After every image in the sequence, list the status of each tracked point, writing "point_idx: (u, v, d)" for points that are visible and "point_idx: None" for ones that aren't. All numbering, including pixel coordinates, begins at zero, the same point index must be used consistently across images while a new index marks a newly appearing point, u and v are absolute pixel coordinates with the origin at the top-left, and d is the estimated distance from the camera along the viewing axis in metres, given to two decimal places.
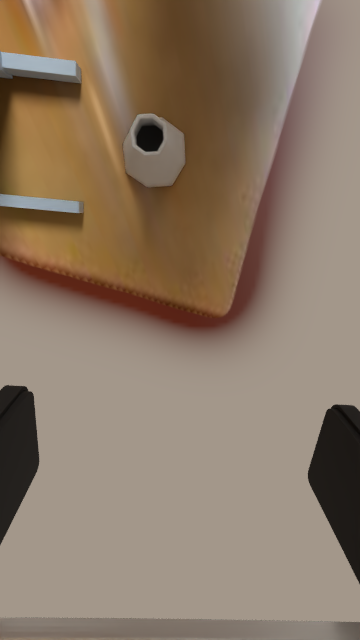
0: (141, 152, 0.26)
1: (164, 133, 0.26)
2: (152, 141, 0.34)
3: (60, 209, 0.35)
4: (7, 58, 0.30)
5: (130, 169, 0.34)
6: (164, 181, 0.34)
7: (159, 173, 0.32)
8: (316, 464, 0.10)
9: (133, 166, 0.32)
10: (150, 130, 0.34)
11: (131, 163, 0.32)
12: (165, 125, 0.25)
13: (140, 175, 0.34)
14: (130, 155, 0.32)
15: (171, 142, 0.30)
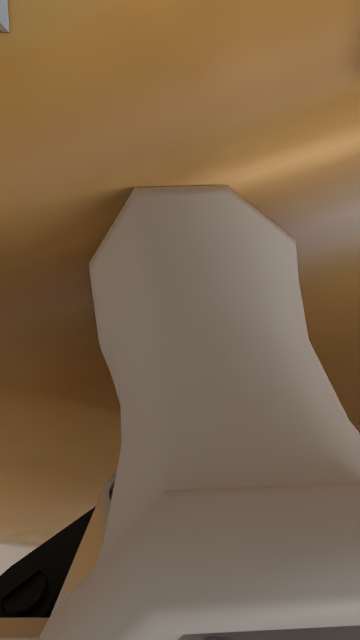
0: None
1: None
2: None
3: None
4: None
5: (134, 213, 0.09)
6: (100, 335, 0.10)
7: (107, 349, 0.08)
8: None
9: (135, 237, 0.07)
10: None
11: (145, 231, 0.07)
12: None
13: (113, 252, 0.09)
14: (177, 231, 0.07)
15: None
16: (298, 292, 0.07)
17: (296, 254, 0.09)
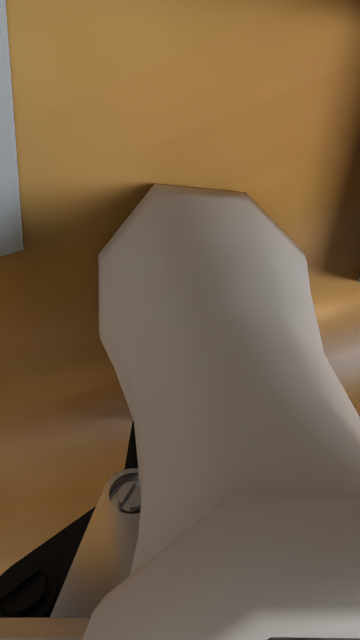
0: None
1: None
2: None
3: None
4: None
5: (153, 209, 0.08)
6: (103, 327, 0.10)
7: (114, 342, 0.08)
8: None
9: (155, 233, 0.07)
10: None
11: (167, 229, 0.07)
12: None
13: (127, 246, 0.09)
14: (199, 232, 0.07)
15: None
16: (312, 306, 0.07)
17: (307, 269, 0.09)
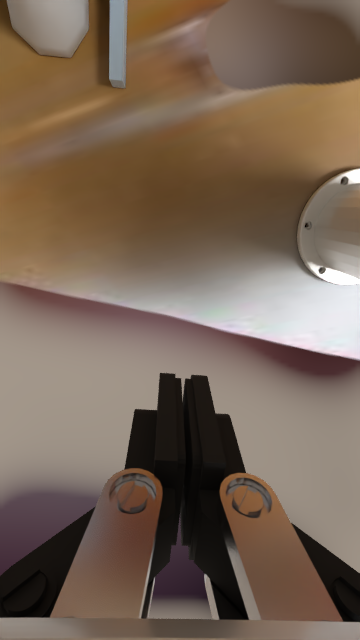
0: None
1: None
2: None
3: None
4: None
5: None
6: None
7: None
8: None
9: None
10: None
11: None
12: None
13: None
14: None
15: (33, 5, 0.24)
16: None
17: None
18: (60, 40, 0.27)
